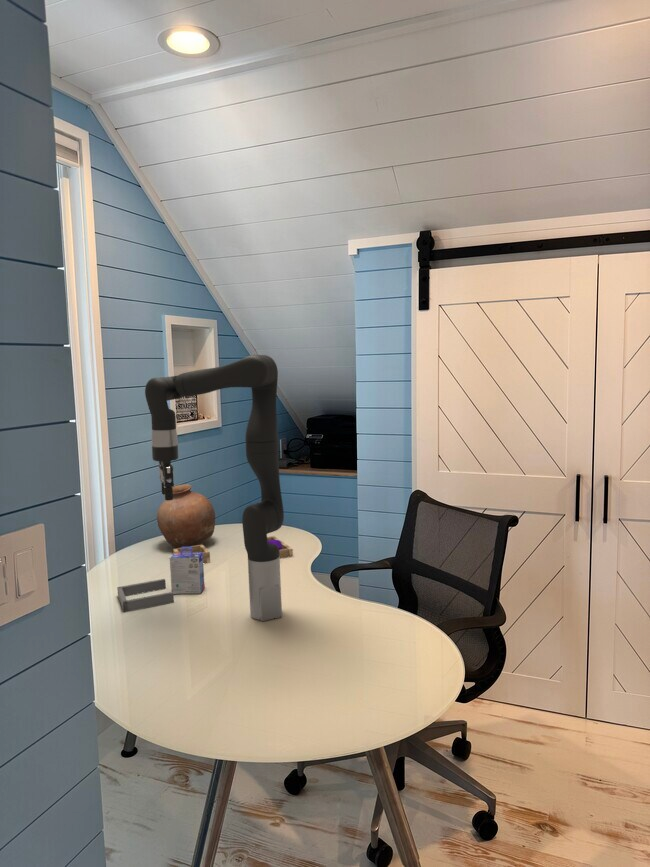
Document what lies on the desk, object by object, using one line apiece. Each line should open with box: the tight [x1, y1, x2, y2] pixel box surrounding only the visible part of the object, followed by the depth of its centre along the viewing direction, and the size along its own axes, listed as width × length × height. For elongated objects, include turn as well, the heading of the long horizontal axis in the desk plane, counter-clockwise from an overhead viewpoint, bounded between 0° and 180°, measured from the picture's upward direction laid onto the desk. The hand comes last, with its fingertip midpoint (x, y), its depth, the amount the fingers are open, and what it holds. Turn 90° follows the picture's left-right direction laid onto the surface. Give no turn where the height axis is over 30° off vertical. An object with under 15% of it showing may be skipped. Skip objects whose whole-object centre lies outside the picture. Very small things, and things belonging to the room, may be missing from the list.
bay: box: [117, 578, 175, 613], centre depth 190 cm, size 14×15×3 cm
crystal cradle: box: [267, 535, 294, 559], centre depth 234 cm, size 20×10×3 cm, turn 26°
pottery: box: [156, 484, 216, 548], centre depth 244 cm, size 23×23×25 cm
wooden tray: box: [172, 544, 211, 564], centre depth 226 cm, size 11×11×4 cm
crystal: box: [268, 539, 282, 550], centre depth 235 cm, size 5×5×15 cm
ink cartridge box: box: [169, 546, 206, 595], centre depth 195 cm, size 10×6×14 cm, turn 89°
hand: (167, 497), depth 182 cm, fingers open, 8 cm apart
